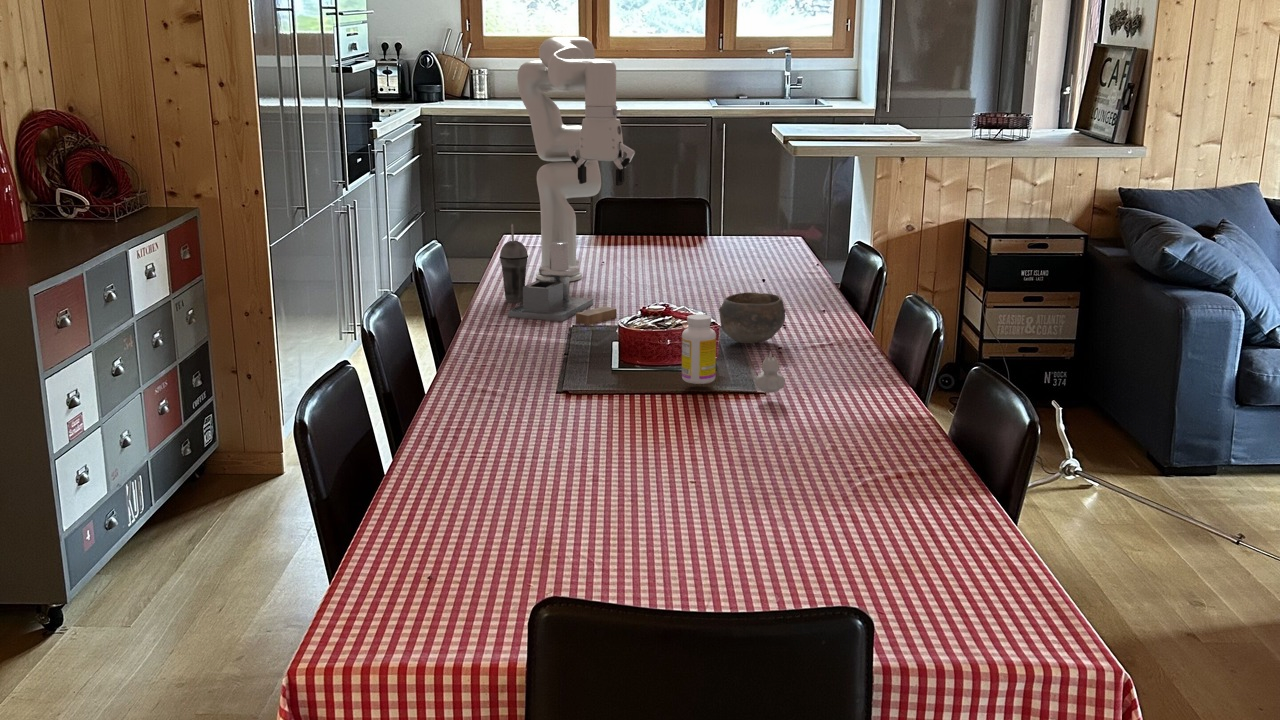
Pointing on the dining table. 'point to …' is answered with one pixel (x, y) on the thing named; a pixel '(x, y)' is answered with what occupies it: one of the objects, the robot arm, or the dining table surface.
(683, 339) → the supplement bottle
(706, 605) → the dining table surface
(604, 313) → the brown wooden block
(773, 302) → the bowl
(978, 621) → the dining table surface
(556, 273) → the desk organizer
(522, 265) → the beverage cup
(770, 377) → the gourd
